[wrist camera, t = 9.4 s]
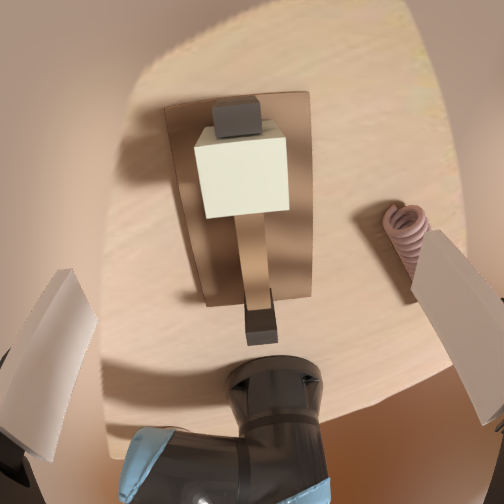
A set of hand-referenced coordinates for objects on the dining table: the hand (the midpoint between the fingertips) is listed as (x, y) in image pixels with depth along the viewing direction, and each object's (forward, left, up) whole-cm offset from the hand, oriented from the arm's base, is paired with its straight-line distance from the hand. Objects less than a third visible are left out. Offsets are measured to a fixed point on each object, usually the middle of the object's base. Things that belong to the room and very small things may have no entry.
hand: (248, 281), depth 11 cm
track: (-6, 0, -18) cm, 19 cm away
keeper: (0, 0, -17) cm, 17 cm away
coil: (-14, -20, -19) cm, 31 cm away
